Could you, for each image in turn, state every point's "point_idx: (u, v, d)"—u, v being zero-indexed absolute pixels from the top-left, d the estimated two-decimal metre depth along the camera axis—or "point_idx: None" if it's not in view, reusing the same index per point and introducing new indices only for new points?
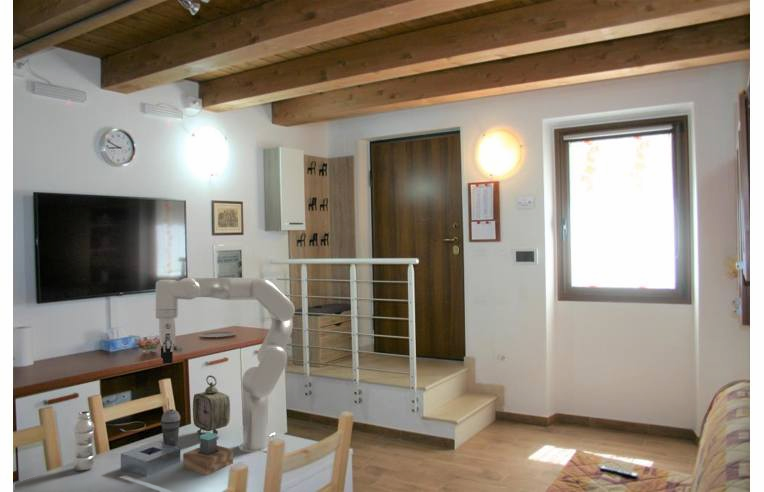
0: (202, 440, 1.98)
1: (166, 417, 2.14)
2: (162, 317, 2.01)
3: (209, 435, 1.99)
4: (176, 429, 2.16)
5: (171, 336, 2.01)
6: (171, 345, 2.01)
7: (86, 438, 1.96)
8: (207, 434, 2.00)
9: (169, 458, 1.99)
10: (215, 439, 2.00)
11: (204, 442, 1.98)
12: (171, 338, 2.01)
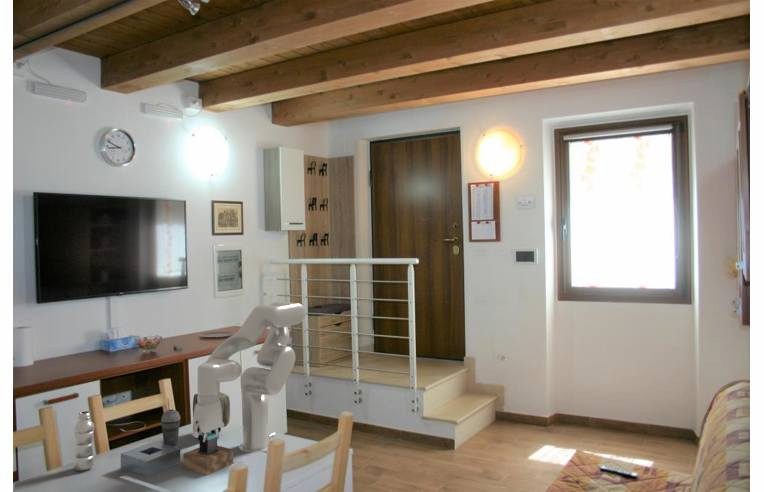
0: None
1: (166, 417, 2.14)
2: None
3: (209, 435, 1.99)
4: (176, 429, 2.16)
5: None
6: None
7: (86, 438, 1.96)
8: (207, 434, 2.00)
9: (169, 458, 1.99)
10: (215, 439, 2.00)
11: None
12: None
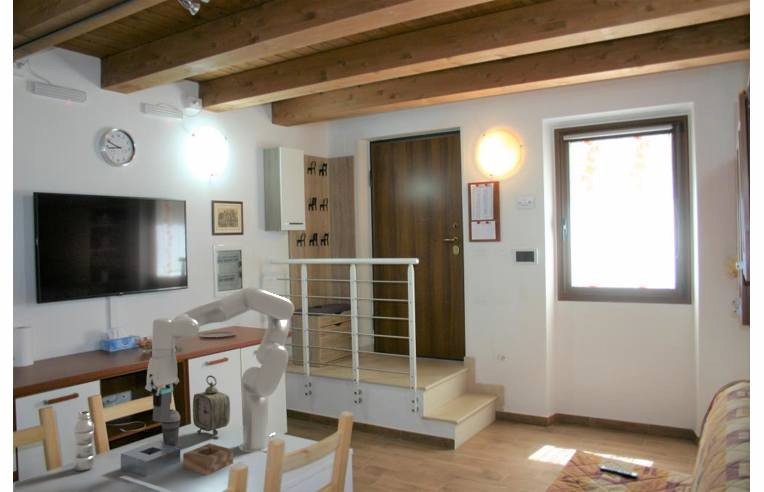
0: None
1: None
2: None
3: (163, 389, 1.99)
4: (176, 429, 2.16)
5: None
6: (167, 384, 2.03)
7: (86, 438, 1.96)
8: (161, 389, 2.00)
9: (169, 458, 1.99)
10: (169, 394, 2.00)
11: None
12: None
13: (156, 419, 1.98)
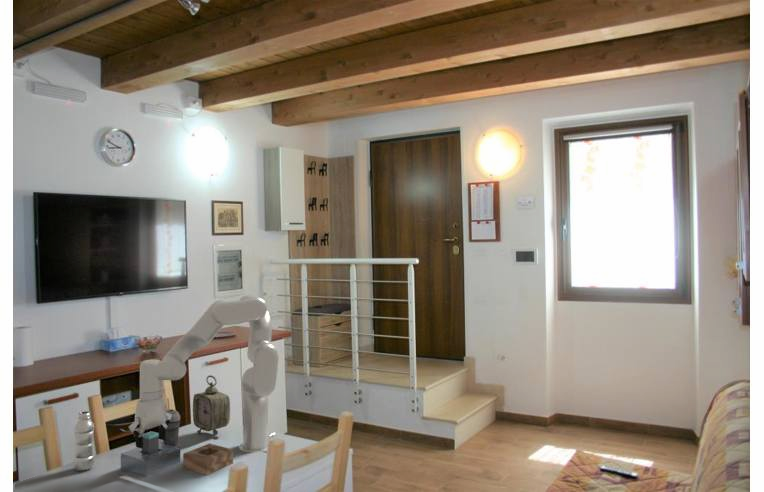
0: (143, 439, 1.99)
1: None
2: None
3: (150, 434, 2.00)
4: (176, 429, 2.16)
5: None
6: None
7: (86, 438, 1.96)
8: (149, 433, 2.00)
9: (169, 458, 1.99)
10: (157, 438, 2.01)
11: (145, 441, 1.99)
12: None
13: None
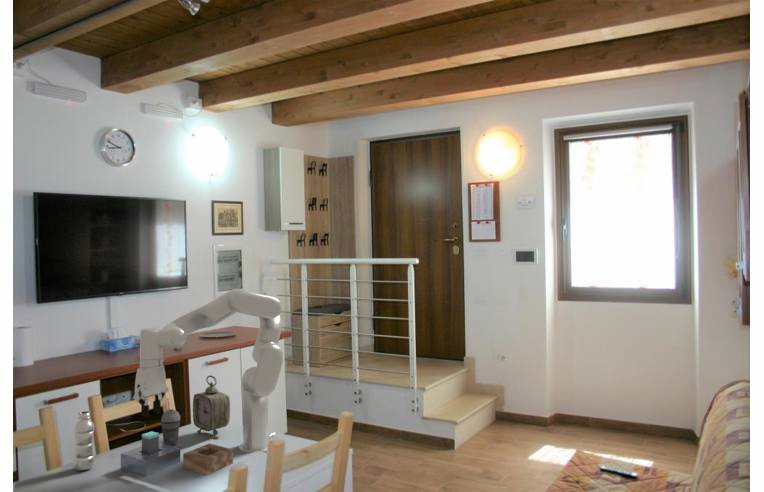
0: (144, 439, 1.99)
1: (166, 417, 2.14)
2: None
3: (151, 434, 2.00)
4: (176, 429, 2.16)
5: None
6: None
7: (86, 438, 1.96)
8: (149, 433, 2.00)
9: (169, 458, 1.99)
10: (157, 438, 2.01)
11: (146, 441, 1.98)
12: None
13: None
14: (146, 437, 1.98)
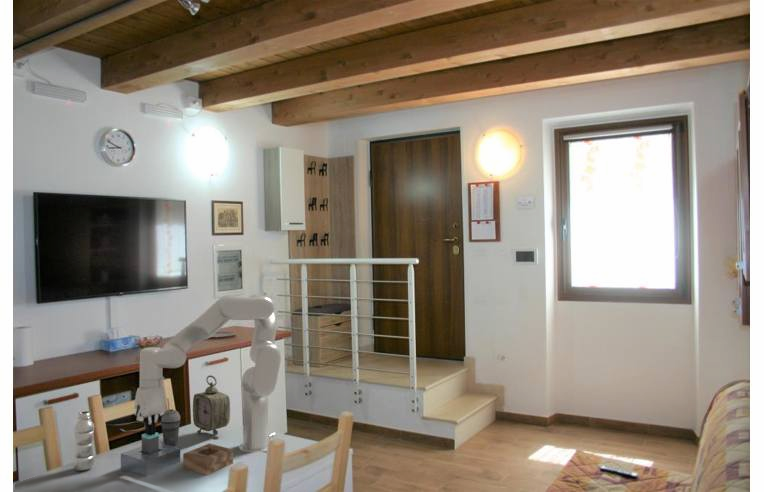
0: (143, 439, 1.99)
1: (166, 417, 2.14)
2: None
3: None
4: (176, 429, 2.16)
5: None
6: (153, 415, 2.02)
7: (86, 438, 1.96)
8: None
9: (169, 458, 1.99)
10: (157, 438, 2.01)
11: (145, 441, 1.98)
12: None
13: None
14: (146, 437, 1.98)
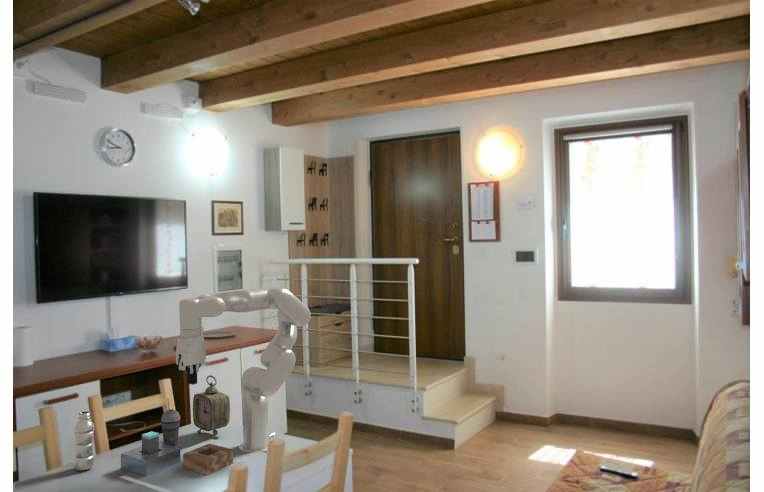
0: (144, 439, 1.99)
1: (166, 417, 2.14)
2: None
3: (151, 434, 2.00)
4: (176, 429, 2.16)
5: None
6: (194, 365, 2.04)
7: (86, 438, 1.96)
8: (149, 433, 2.00)
9: (169, 458, 1.99)
10: (157, 438, 2.01)
11: (146, 441, 1.98)
12: None
13: None
14: (146, 437, 1.98)
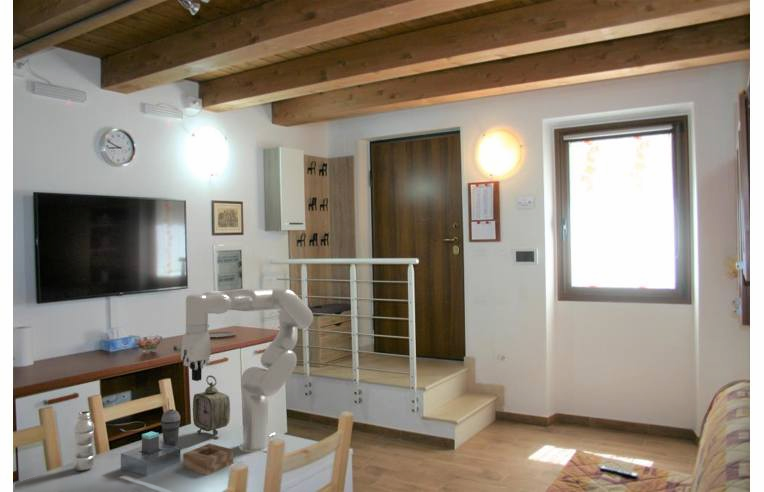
0: (144, 439, 1.99)
1: (166, 417, 2.14)
2: None
3: (151, 434, 2.00)
4: (176, 429, 2.16)
5: None
6: None
7: (86, 438, 1.96)
8: (149, 433, 2.00)
9: (169, 458, 1.99)
10: (157, 438, 2.01)
11: (146, 441, 1.98)
12: None
13: None
14: (146, 437, 1.98)
